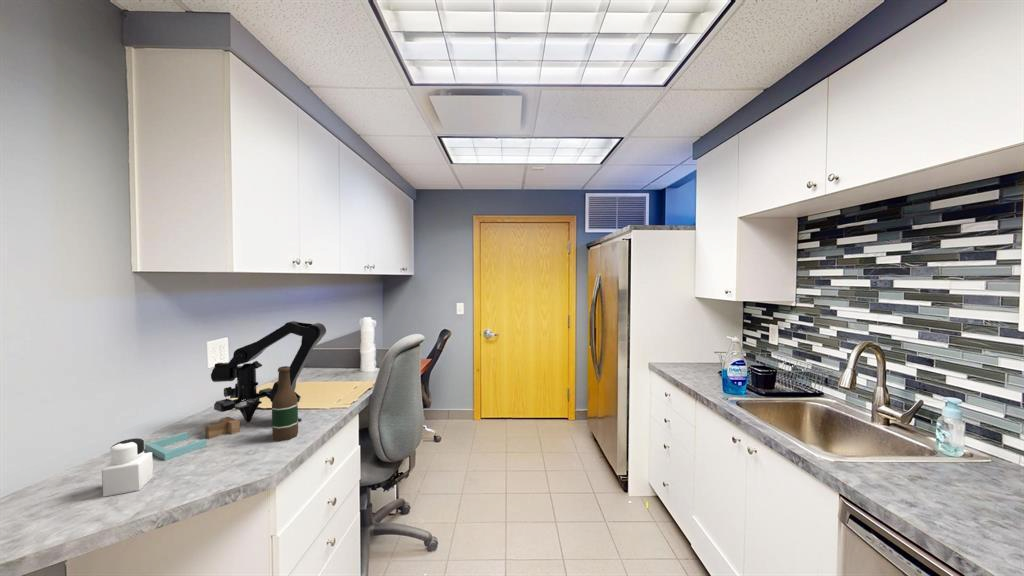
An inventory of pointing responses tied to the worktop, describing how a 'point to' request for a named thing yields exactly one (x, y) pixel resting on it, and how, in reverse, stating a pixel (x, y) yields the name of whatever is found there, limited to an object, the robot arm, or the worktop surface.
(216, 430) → the t block
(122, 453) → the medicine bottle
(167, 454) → the jig
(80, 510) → the worktop surface
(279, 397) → the beer bottle
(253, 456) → the worktop surface
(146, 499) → the worktop surface
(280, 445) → the worktop surface
